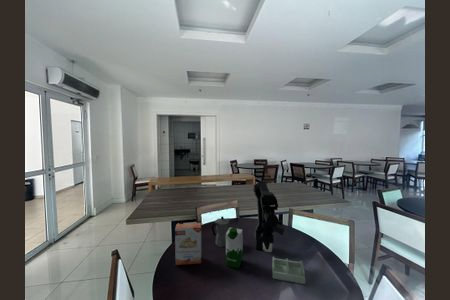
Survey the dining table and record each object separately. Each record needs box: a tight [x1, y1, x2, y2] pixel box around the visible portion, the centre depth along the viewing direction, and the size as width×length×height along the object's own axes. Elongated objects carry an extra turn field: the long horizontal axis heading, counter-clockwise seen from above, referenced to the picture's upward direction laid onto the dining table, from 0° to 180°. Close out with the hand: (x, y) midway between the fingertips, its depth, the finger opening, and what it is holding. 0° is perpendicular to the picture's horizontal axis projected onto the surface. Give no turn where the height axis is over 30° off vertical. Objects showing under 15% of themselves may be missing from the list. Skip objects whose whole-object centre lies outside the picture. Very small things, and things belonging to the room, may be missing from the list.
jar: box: [263, 243, 273, 253], centre depth 97 cm, size 5×5×7 cm
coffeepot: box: [210, 216, 231, 248], centre depth 119 cm, size 15×9×18 cm, turn 129°
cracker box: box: [174, 222, 202, 266], centre depth 102 cm, size 14×6×21 cm, turn 97°
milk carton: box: [225, 227, 244, 269], centre depth 101 cm, size 9×9×20 cm
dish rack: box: [271, 256, 306, 285], centre depth 93 cm, size 15×11×5 cm
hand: (267, 246), depth 97 cm, fingers closed on jar, 5 cm apart
